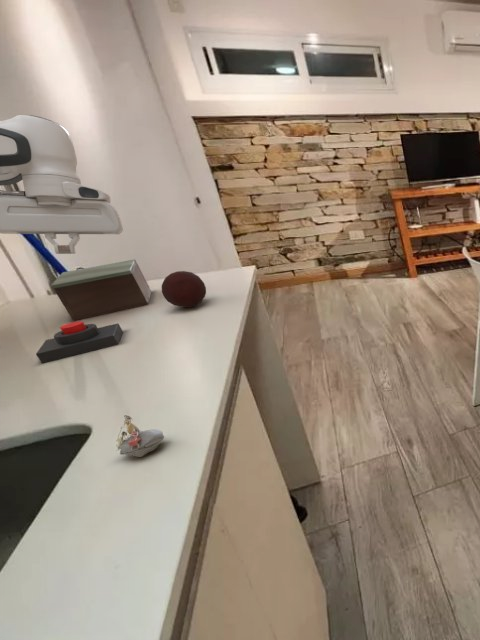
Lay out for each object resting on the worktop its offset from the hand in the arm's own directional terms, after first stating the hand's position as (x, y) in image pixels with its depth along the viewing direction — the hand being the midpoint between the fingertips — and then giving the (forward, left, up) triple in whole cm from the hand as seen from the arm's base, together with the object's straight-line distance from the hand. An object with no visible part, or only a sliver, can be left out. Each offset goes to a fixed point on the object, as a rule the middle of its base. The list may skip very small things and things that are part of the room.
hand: (65, 253), depth 109 cm
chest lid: (0, +15, -9) cm, 18 cm away
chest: (0, +16, -18) cm, 24 cm away
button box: (-2, -16, -18) cm, 24 cm away
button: (-2, -16, -14) cm, 22 cm away
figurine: (+12, -76, -18) cm, 79 cm away
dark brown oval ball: (+17, -3, -18) cm, 25 cm away
